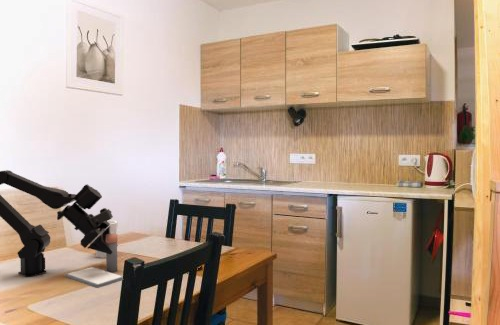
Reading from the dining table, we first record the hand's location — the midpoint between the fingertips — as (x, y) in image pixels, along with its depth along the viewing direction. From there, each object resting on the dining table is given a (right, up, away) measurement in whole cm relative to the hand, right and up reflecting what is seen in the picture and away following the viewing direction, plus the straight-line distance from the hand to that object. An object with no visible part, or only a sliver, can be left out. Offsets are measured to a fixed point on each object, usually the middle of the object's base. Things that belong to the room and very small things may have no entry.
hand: (114, 249), depth 138 cm
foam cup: (-10, -7, +20) cm, 23 cm away
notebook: (-4, -7, -8) cm, 11 cm away
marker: (-1, -7, 0) cm, 7 cm away
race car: (+25, -8, 0) cm, 26 cm away
